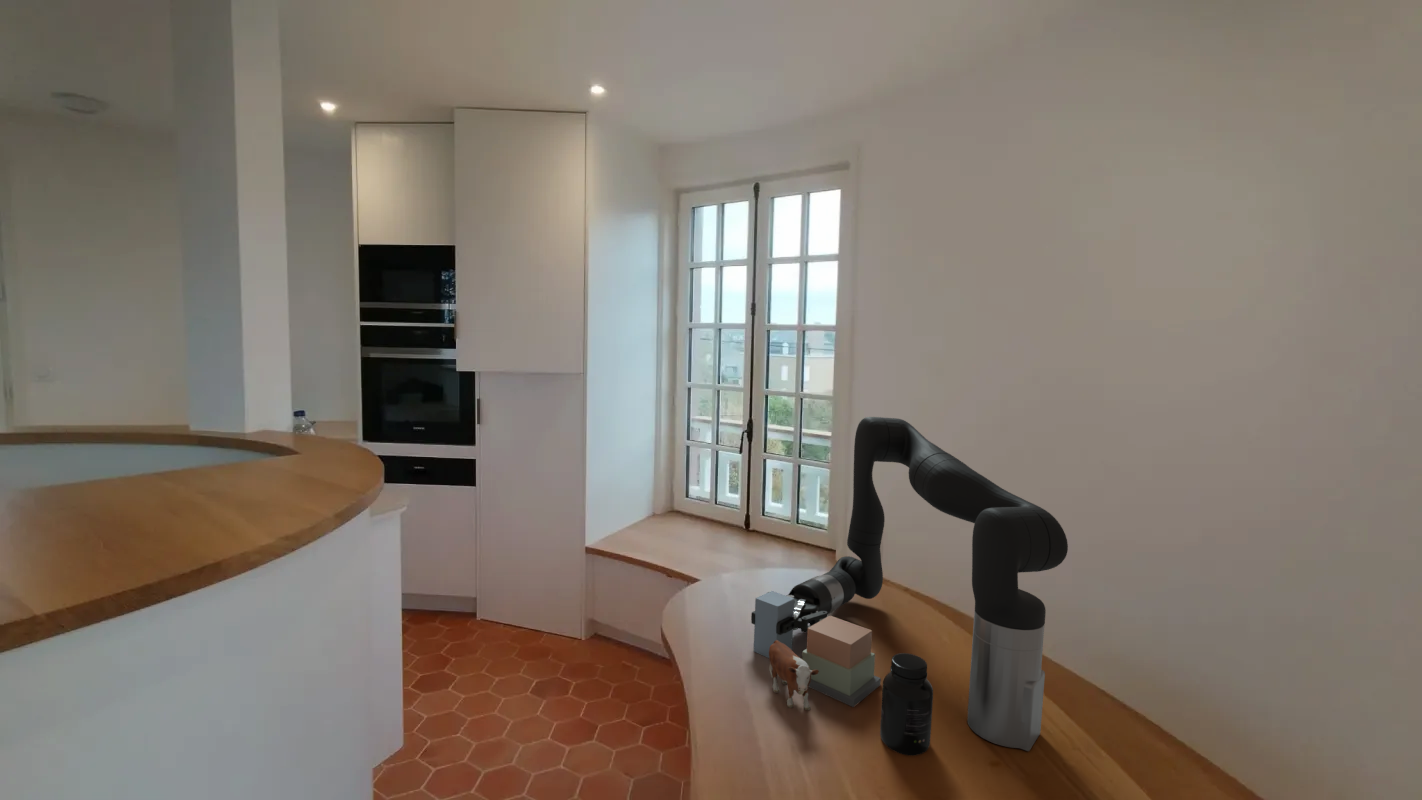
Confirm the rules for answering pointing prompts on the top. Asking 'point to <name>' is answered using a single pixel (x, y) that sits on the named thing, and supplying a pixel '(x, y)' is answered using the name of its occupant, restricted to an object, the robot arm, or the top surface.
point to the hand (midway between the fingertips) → (765, 623)
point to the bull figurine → (790, 672)
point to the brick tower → (841, 660)
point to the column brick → (771, 621)
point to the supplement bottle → (906, 706)
